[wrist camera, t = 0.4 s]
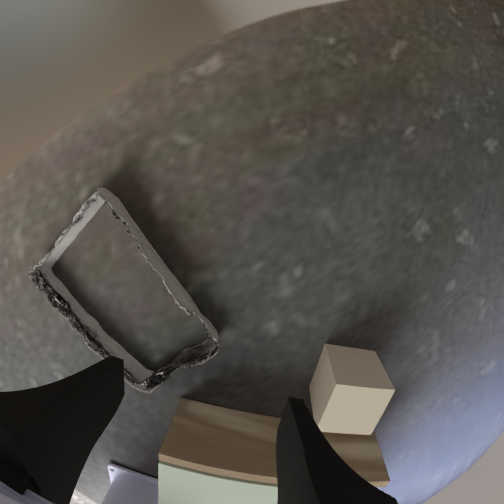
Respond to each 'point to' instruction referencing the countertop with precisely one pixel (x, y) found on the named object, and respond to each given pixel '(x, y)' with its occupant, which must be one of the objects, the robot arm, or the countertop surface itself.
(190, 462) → the trapdoor frame
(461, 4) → the countertop surface
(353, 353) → the beige cube
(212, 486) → the trapdoor
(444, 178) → the countertop surface
